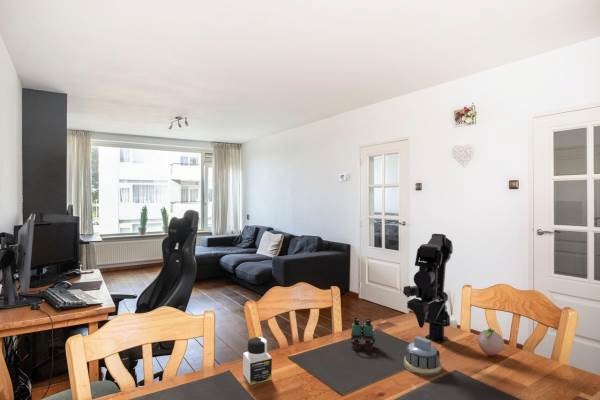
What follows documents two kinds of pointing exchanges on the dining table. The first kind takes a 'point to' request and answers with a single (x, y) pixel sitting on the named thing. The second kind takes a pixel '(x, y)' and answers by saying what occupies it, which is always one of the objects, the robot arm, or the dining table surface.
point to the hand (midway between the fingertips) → (427, 323)
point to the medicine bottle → (257, 361)
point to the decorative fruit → (490, 342)
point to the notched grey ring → (422, 364)
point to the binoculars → (362, 335)
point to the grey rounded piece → (422, 347)
